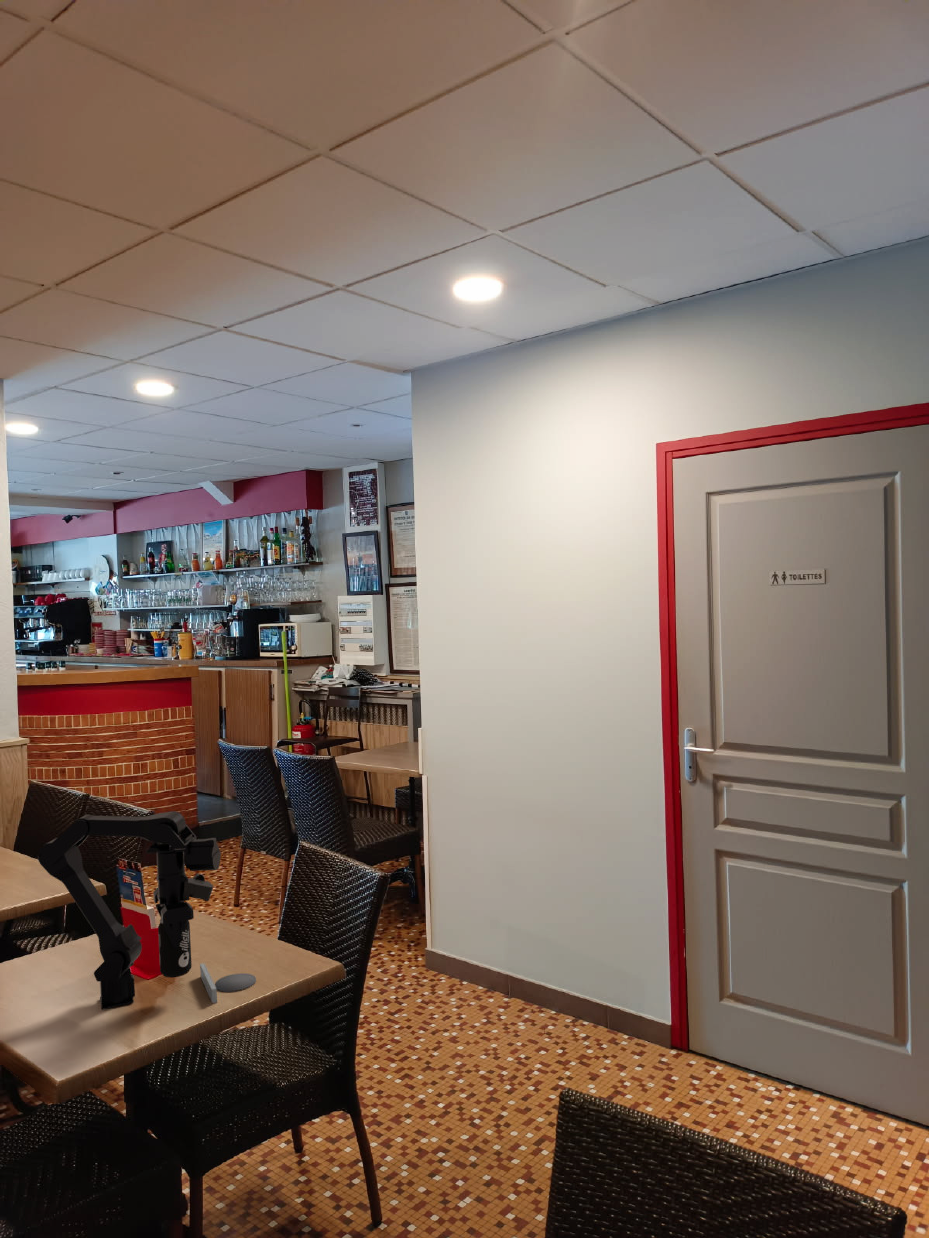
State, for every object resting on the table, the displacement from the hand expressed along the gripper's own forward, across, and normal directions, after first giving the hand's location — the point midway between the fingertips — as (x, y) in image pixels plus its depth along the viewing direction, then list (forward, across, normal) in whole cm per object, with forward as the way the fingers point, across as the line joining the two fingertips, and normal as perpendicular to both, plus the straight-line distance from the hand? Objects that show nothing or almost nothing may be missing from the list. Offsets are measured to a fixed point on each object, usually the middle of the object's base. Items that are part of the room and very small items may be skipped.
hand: (174, 942), depth 197 cm
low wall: (+13, +2, -7) cm, 15 cm away
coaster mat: (+13, +2, -13) cm, 18 cm away
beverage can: (+7, 0, 0) cm, 7 cm away
